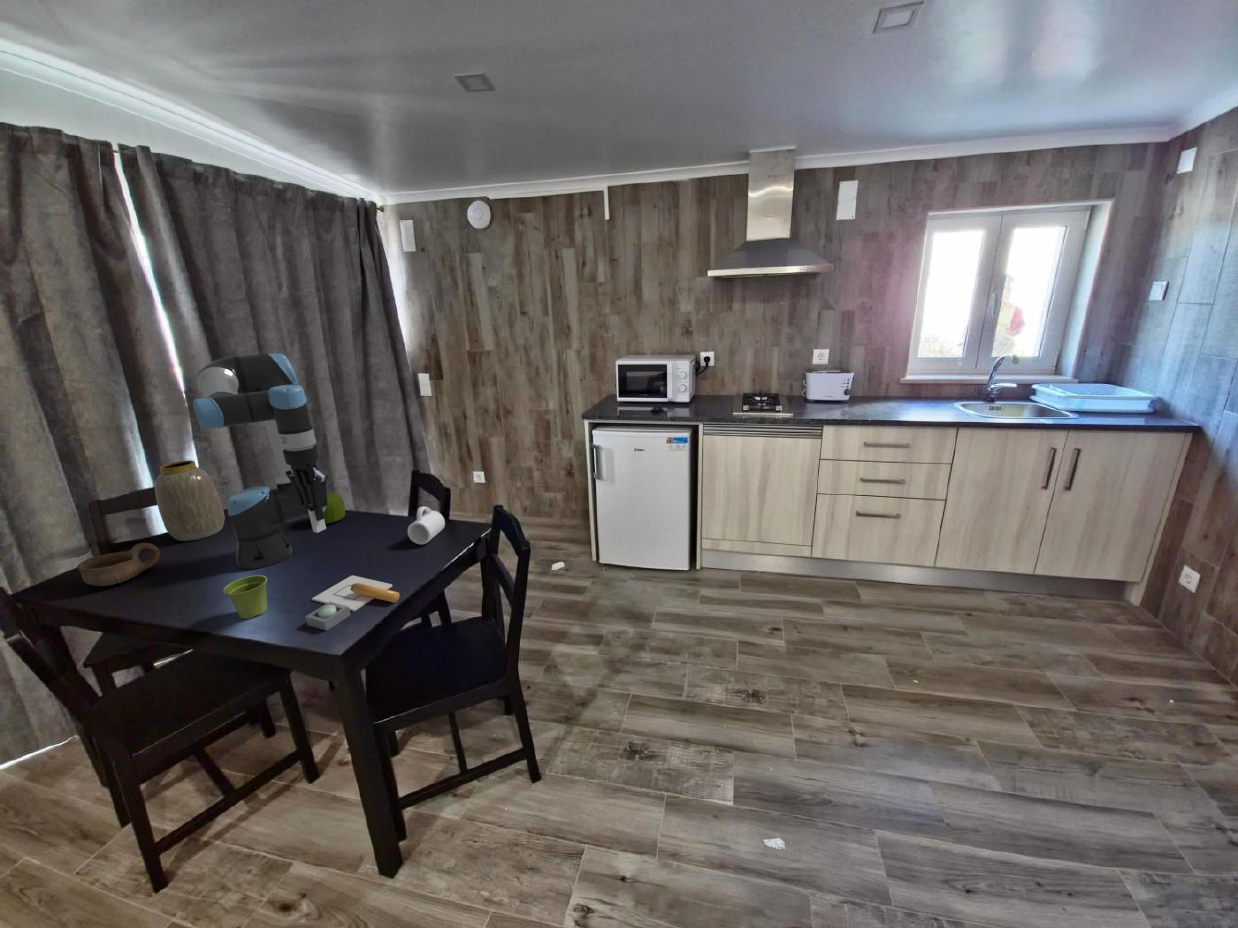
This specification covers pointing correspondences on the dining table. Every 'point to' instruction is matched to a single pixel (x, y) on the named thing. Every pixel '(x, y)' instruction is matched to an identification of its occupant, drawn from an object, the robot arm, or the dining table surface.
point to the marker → (375, 592)
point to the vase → (188, 501)
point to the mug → (425, 526)
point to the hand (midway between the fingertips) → (319, 530)
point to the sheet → (349, 593)
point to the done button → (326, 611)
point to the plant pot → (248, 595)
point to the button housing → (332, 620)
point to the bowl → (117, 566)
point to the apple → (334, 508)
